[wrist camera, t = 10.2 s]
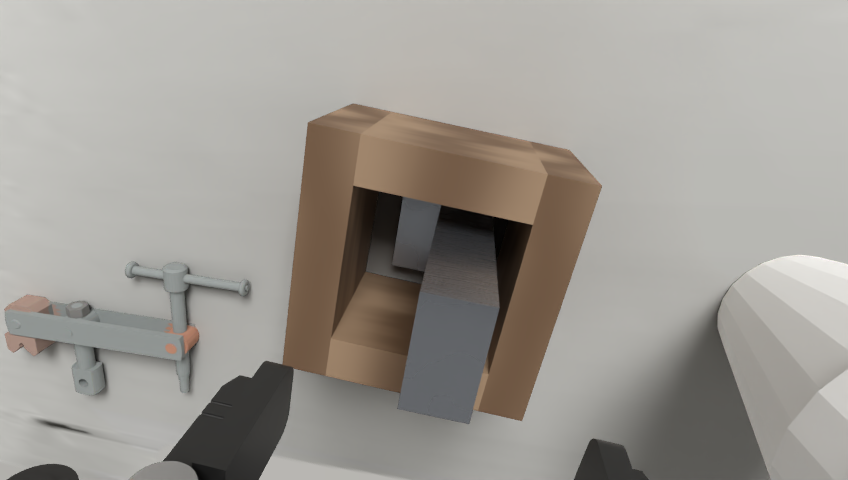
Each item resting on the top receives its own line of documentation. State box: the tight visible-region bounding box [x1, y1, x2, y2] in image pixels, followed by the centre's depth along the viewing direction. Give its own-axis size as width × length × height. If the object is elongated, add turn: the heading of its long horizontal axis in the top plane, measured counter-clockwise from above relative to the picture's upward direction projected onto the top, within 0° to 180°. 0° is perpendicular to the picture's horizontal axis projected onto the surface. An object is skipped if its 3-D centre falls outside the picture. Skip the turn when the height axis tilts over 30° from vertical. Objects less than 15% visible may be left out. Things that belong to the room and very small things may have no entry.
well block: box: [283, 104, 602, 421], centre depth 23 cm, size 11×11×7 cm
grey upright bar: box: [392, 197, 500, 424], centre depth 21 cm, size 4×4×12 cm
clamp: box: [4, 262, 250, 395], centre depth 31 cm, size 15×2×10 cm
